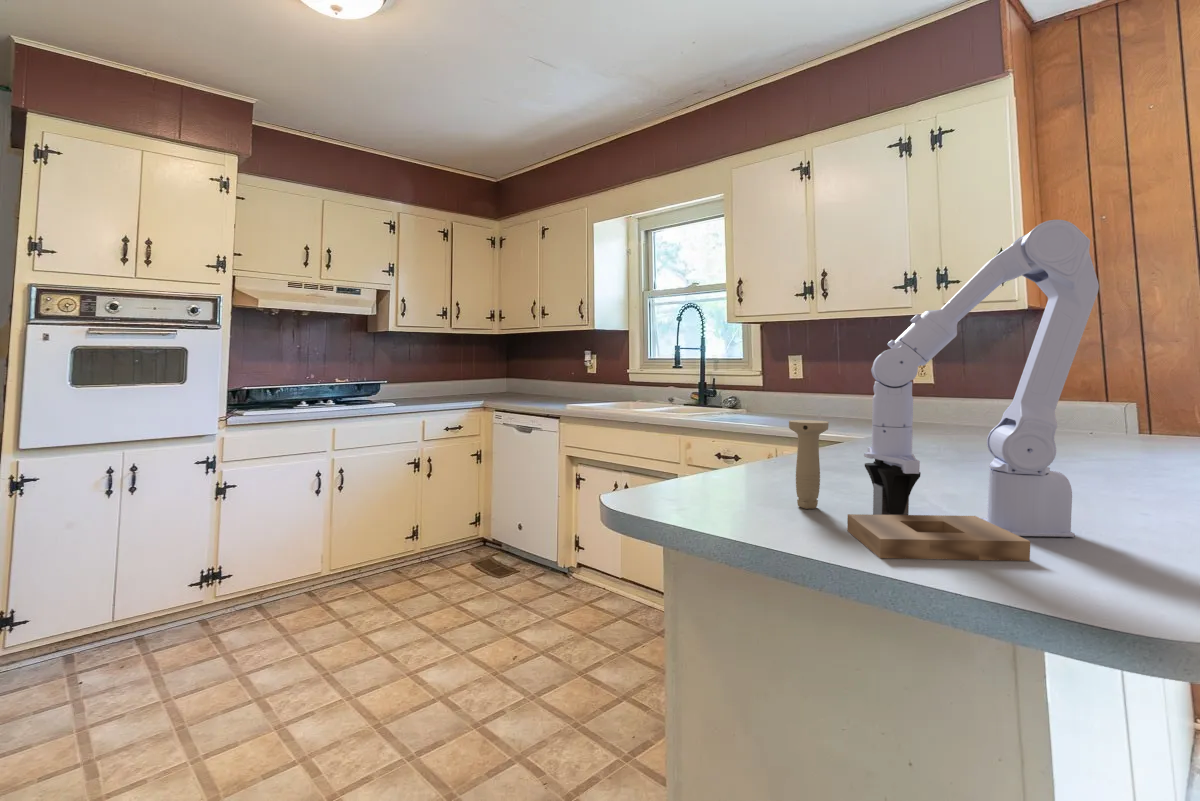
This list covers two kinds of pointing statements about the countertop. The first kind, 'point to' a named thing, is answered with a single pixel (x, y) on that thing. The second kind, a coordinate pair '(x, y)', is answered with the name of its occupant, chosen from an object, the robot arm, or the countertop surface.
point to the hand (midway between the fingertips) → (890, 510)
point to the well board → (937, 537)
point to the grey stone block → (883, 501)
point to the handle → (808, 460)
